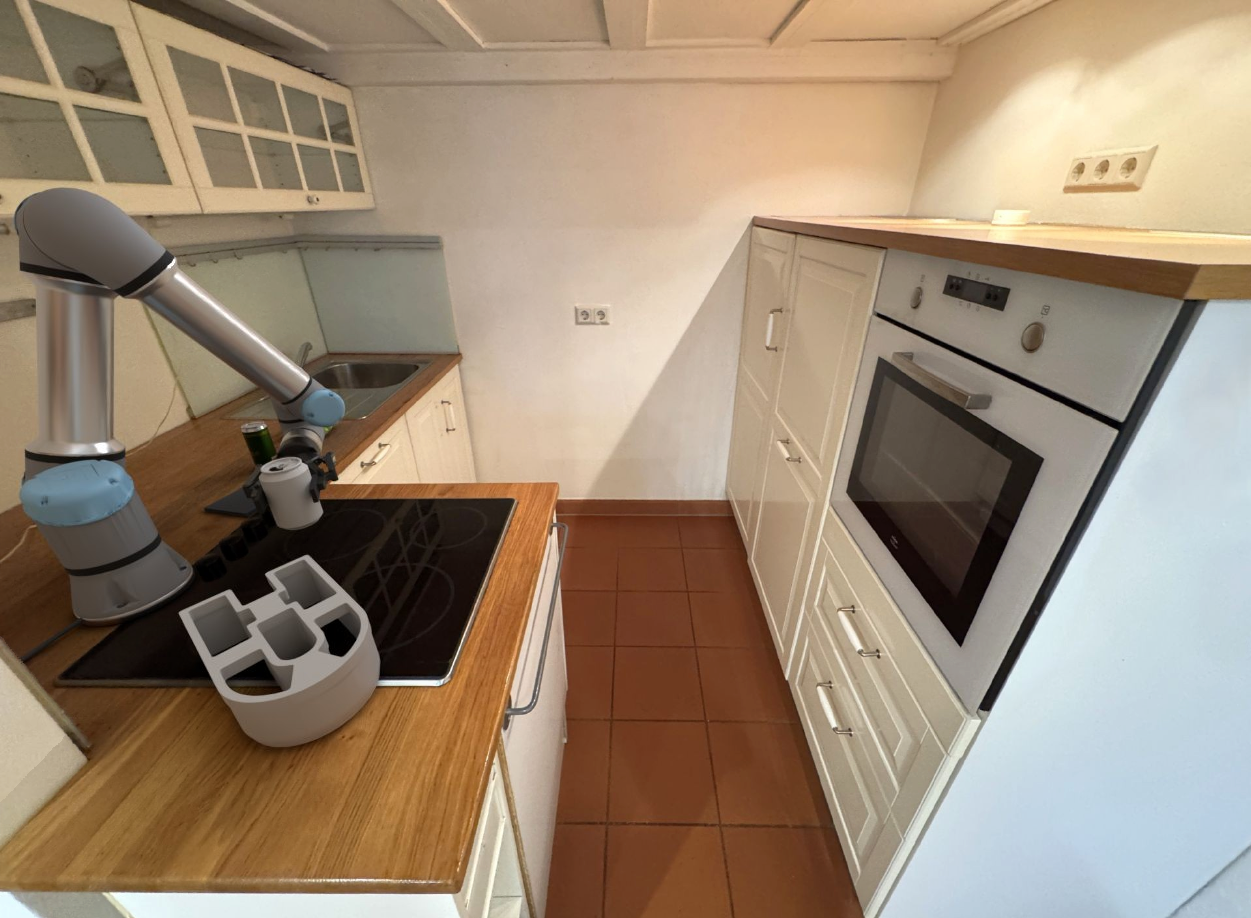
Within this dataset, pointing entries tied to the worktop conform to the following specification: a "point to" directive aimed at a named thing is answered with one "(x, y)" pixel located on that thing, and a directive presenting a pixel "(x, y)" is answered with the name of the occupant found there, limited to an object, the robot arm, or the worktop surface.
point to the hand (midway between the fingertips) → (286, 501)
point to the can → (290, 493)
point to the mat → (233, 505)
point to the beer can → (259, 442)
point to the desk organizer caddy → (288, 654)
